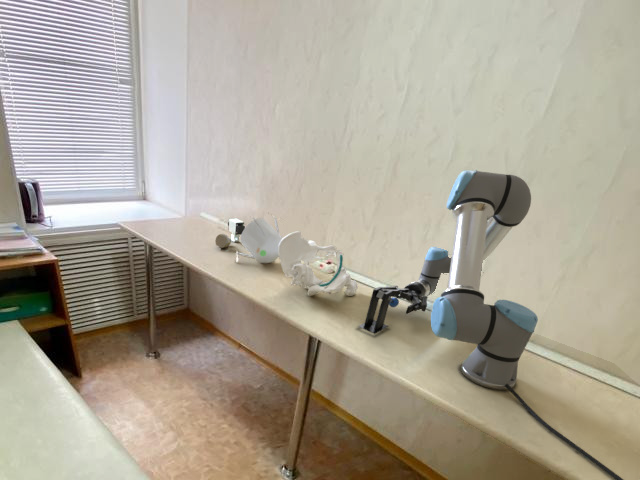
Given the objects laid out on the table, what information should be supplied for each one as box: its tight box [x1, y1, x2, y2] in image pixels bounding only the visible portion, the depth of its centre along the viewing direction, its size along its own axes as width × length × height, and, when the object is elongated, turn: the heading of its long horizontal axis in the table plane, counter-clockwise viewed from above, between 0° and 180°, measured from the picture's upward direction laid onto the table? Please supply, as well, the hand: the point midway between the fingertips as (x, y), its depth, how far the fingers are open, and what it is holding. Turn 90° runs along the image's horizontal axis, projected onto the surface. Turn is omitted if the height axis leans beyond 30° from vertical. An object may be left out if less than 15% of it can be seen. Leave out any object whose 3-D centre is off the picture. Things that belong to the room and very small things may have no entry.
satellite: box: [235, 212, 286, 264], centre depth 198 cm, size 23×20×25 cm
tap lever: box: [376, 290, 400, 308], centre depth 148 cm, size 16×4×4 cm, turn 137°
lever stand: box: [357, 286, 393, 335], centre depth 145 cm, size 10×7×15 cm
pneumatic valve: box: [227, 218, 246, 243], centre depth 225 cm, size 6×12×12 cm, turn 30°
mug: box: [214, 233, 232, 249], centre depth 216 cm, size 8×10×10 cm
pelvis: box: [278, 230, 359, 297], centre depth 170 cm, size 35×23×30 cm
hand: (390, 303), depth 151 cm, fingers open, 13 cm apart
